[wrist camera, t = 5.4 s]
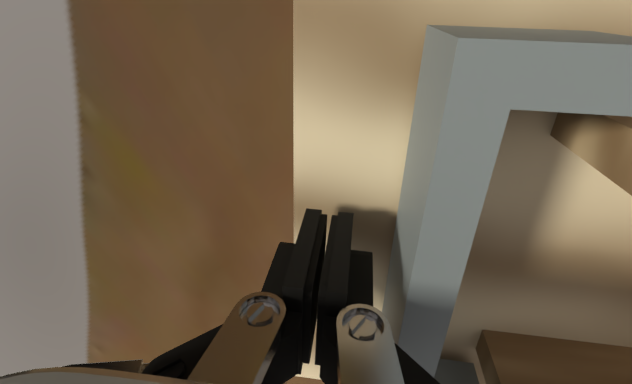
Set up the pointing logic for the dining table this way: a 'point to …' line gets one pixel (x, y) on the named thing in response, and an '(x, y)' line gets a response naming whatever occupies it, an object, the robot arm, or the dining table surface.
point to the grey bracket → (478, 156)
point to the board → (502, 195)
